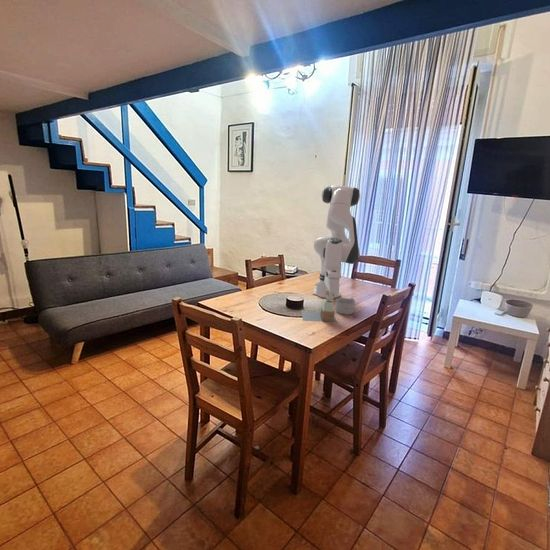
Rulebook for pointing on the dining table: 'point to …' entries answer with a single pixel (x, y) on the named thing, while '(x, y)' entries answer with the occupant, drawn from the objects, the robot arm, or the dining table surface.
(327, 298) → the beech cylinder
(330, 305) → the sage top block
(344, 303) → the teacup
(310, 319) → the slate board
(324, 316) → the walnut base block
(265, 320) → the dining table surface
